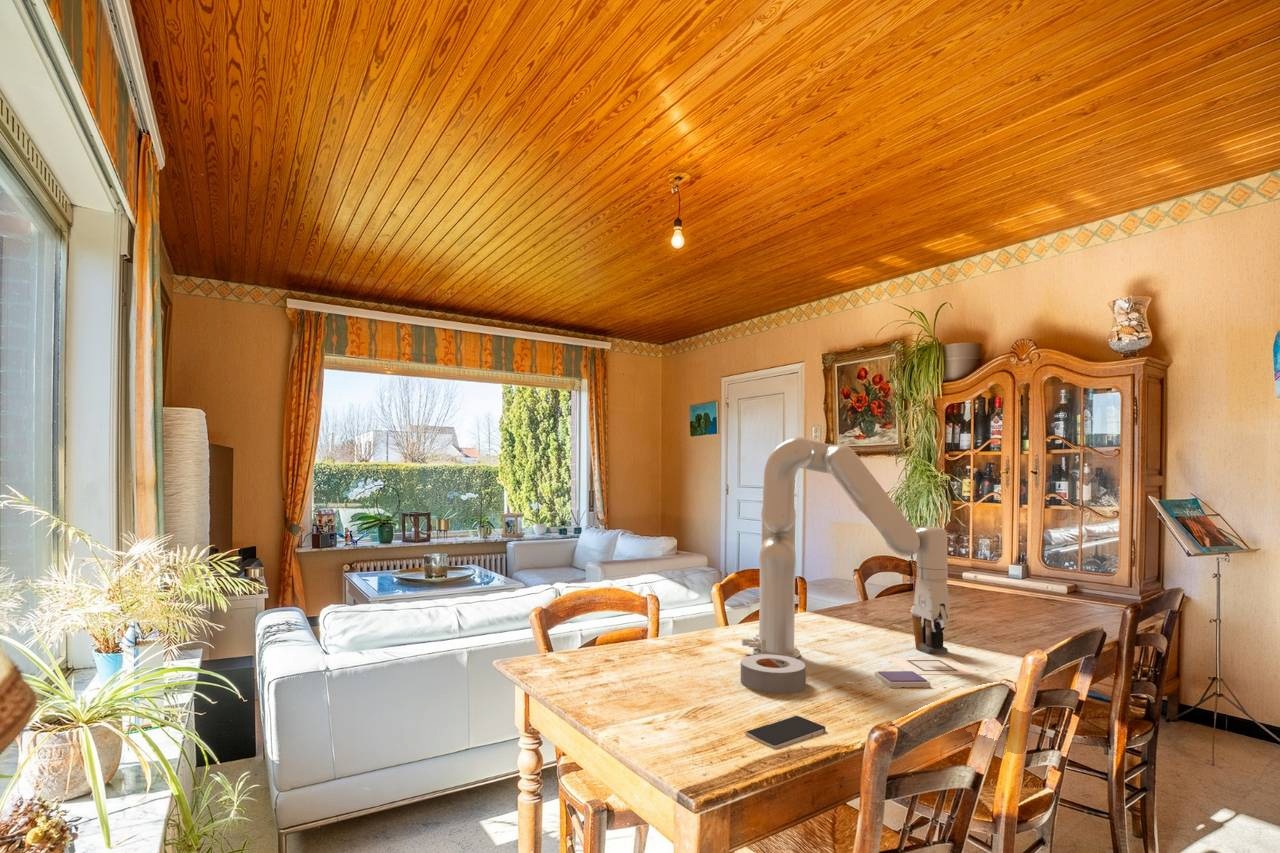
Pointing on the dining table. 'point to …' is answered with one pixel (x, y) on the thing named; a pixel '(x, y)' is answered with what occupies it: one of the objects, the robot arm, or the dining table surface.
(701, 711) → the dining table surface
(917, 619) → the disposable coffee cup
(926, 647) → the stamp
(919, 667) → the sheet
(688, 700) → the dining table surface
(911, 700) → the dining table surface
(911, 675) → the ink pad
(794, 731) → the smartphone
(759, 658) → the tape roll
